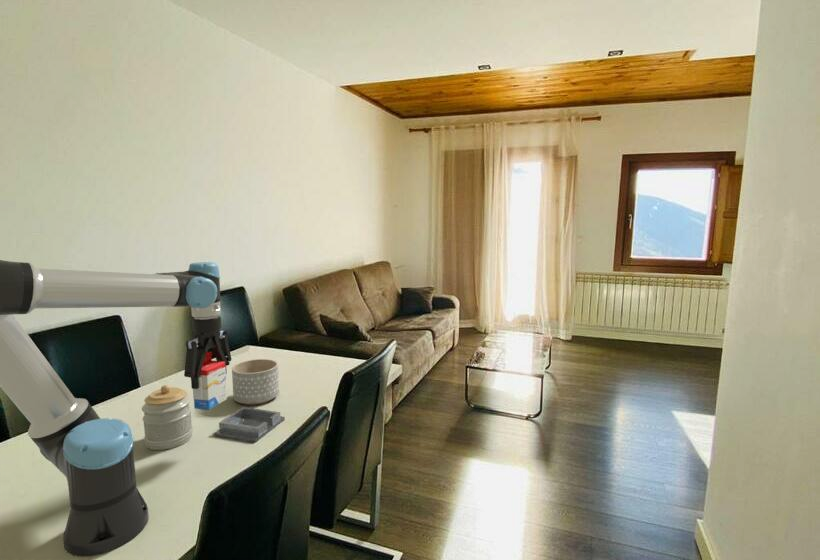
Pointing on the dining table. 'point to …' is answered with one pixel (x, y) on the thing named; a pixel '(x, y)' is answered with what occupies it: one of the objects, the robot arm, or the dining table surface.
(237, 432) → the fixture tray
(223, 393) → the ink box
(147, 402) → the jar
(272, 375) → the planter
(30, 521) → the dining table surface
